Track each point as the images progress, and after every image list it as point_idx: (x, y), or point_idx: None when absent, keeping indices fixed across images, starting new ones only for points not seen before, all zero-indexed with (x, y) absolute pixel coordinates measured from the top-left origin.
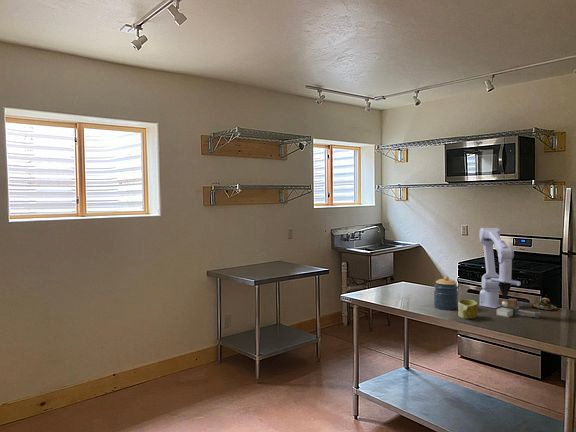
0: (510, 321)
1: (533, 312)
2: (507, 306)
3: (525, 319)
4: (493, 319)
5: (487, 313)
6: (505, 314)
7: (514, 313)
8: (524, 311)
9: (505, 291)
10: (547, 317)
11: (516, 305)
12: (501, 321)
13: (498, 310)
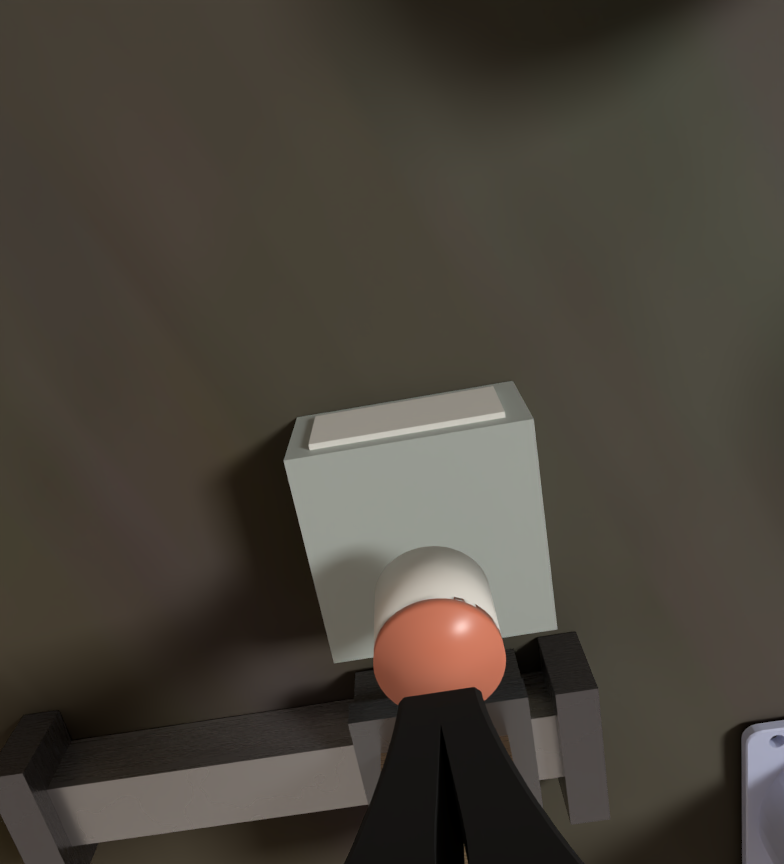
0: (92, 201)
1: (121, 822)
2: (504, 742)
3: (70, 540)
4: (361, 32)
5: (684, 355)
6: (339, 421)
7: (363, 674)
8: (232, 773)
9: (376, 858)
10: (13, 856)
11: None
12: (174, 34)
13: (485, 421)
